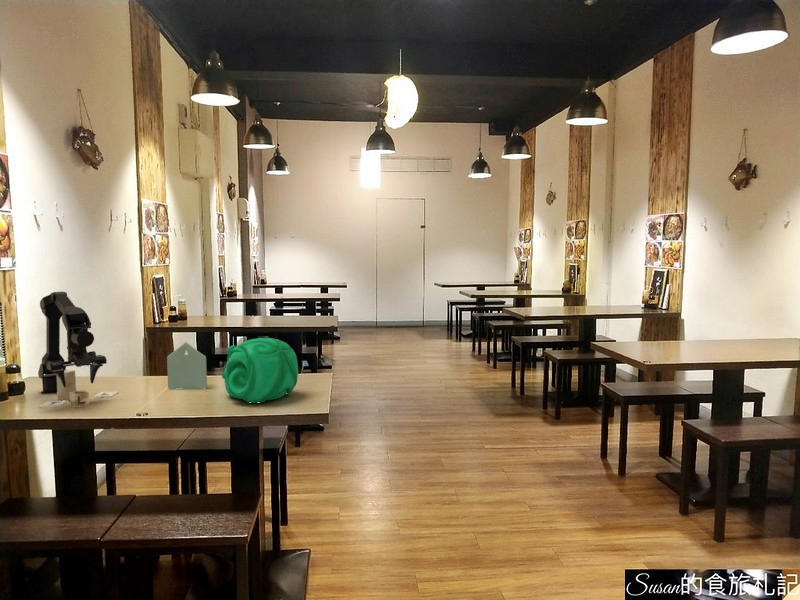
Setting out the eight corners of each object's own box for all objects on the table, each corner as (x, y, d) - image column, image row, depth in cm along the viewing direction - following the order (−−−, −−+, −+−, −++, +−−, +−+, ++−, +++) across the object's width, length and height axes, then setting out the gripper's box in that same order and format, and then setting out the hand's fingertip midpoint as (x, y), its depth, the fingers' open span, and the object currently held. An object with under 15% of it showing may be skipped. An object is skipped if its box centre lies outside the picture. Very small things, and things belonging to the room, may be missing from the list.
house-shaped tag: (213, 384, 244) (212, 339, 243) (206, 389, 236) (205, 342, 235) (176, 384, 245) (174, 339, 243) (168, 389, 237) (166, 342, 235)
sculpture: (244, 369, 243) (276, 317, 233) (285, 415, 234) (320, 363, 224) (195, 382, 220) (228, 324, 209) (238, 433, 211) (276, 376, 200)
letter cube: (74, 408, 209) (73, 394, 208) (70, 405, 212) (69, 392, 212) (89, 405, 212) (88, 392, 212) (84, 403, 216) (84, 389, 215)
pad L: (93, 398, 223) (93, 396, 223) (100, 393, 230) (100, 391, 230) (111, 397, 224) (111, 395, 223) (118, 393, 230) (118, 391, 230)
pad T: (39, 407, 210) (39, 405, 209) (49, 402, 216) (49, 400, 216) (59, 406, 210) (59, 405, 210) (68, 401, 217) (68, 400, 217)
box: (66, 401, 218) (65, 372, 217) (57, 400, 219) (55, 372, 218) (77, 397, 224) (75, 370, 223) (67, 397, 224) (66, 369, 223)
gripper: (54, 349, 198) (56, 393, 200) (110, 343, 212) (112, 384, 213) (45, 346, 206) (47, 388, 207) (100, 340, 219) (102, 379, 221)
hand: (78, 385), depth 212 cm, fingers open, 9 cm apart
